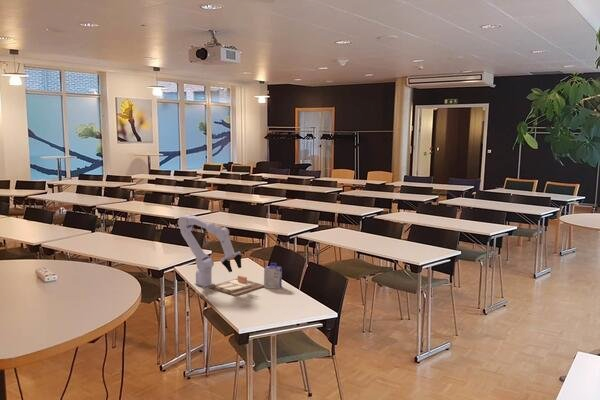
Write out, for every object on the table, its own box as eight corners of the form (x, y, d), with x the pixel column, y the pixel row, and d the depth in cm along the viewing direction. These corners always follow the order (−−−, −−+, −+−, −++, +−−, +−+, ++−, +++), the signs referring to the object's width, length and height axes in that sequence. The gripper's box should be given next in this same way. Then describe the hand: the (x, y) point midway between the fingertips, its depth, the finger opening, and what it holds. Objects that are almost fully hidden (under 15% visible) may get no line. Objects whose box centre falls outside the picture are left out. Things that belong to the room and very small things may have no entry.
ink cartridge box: (282, 286, 298) (282, 262, 297) (279, 289, 293) (280, 265, 291) (266, 285, 300) (266, 261, 298) (263, 287, 295) (263, 264, 293)
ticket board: (209, 288, 292) (209, 284, 292) (238, 279, 311) (238, 275, 310) (235, 296, 278) (235, 292, 278) (264, 286, 297) (264, 282, 297)
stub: (228, 283, 298) (228, 276, 298) (235, 281, 303) (235, 274, 302) (244, 288, 289) (244, 280, 289) (251, 286, 294) (251, 278, 293)
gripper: (222, 250, 282) (230, 272, 282) (240, 243, 293) (248, 264, 293) (215, 252, 286) (223, 274, 286) (233, 245, 297) (240, 267, 297)
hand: (235, 269), depth 290 cm, fingers open, 7 cm apart
